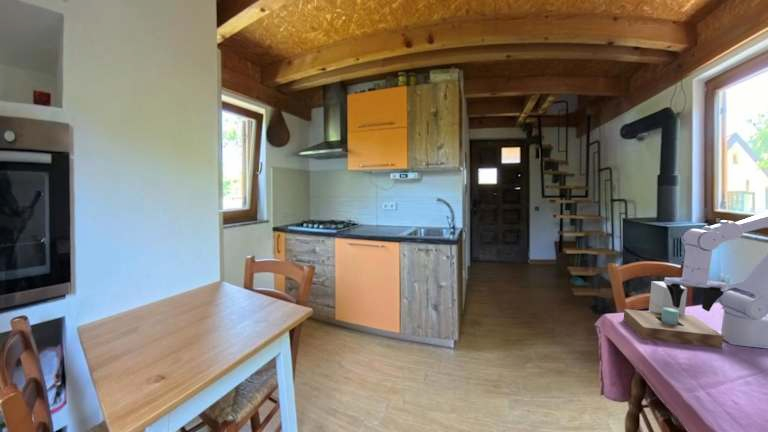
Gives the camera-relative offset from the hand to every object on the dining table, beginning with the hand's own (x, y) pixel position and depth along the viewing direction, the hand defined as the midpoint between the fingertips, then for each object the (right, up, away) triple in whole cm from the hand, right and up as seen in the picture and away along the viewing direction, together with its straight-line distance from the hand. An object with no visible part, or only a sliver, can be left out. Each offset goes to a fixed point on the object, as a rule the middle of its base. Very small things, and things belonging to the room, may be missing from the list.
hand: (690, 308), depth 96 cm
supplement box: (+8, -9, +17) cm, 20 cm away
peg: (-2, -10, +5) cm, 11 cm away
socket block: (-2, -10, +5) cm, 11 cm away
